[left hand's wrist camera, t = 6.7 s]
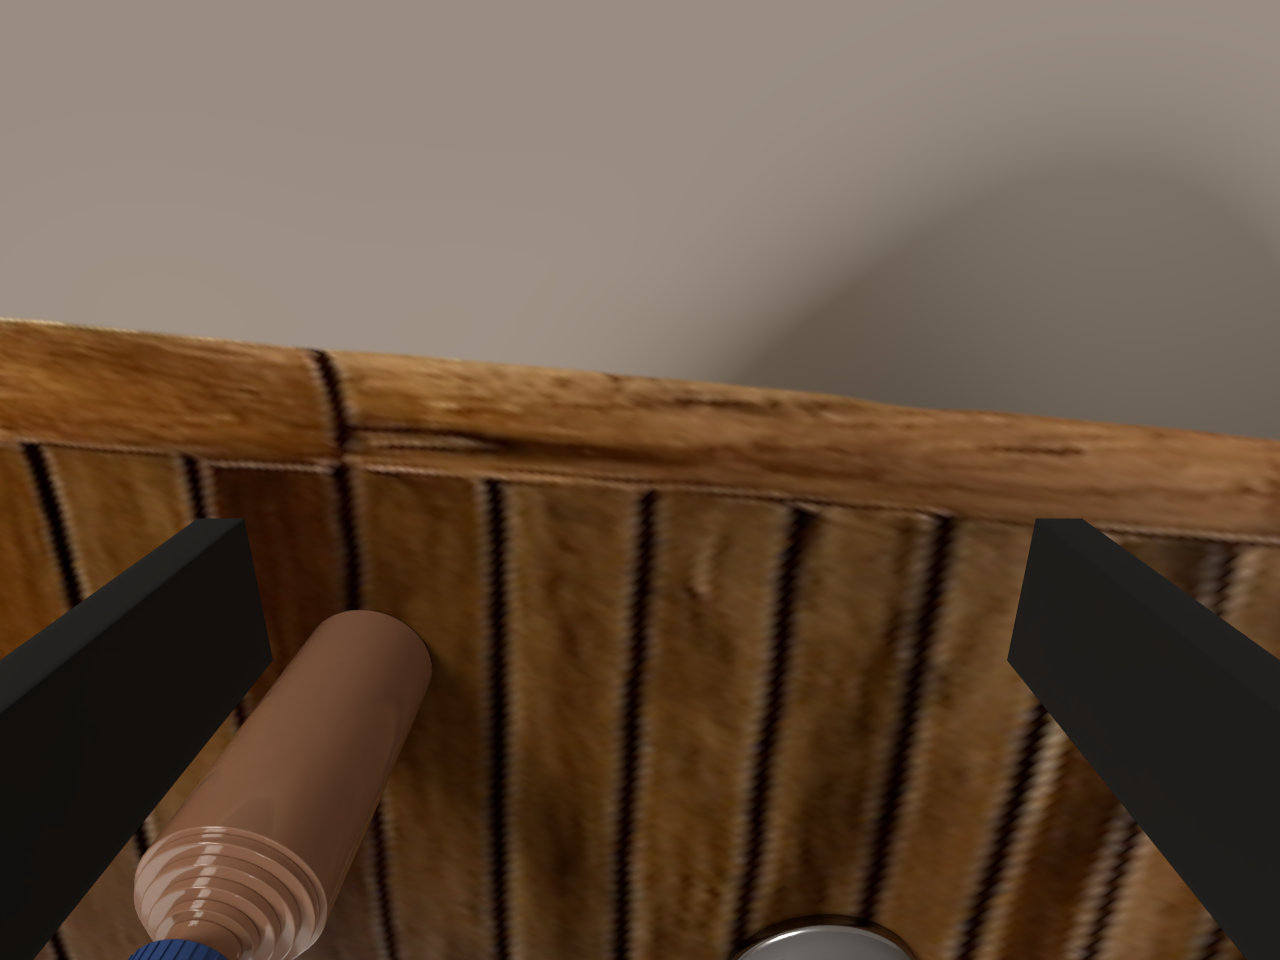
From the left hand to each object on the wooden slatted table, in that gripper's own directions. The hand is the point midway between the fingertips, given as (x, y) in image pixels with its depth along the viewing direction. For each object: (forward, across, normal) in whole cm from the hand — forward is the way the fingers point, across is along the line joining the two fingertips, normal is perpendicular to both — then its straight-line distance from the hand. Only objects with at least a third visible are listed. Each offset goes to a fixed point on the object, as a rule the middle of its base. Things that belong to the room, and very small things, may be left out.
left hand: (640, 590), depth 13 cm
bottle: (+28, +17, +21) cm, 39 cm away
